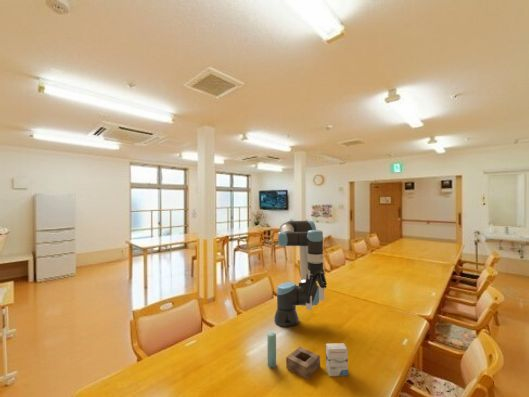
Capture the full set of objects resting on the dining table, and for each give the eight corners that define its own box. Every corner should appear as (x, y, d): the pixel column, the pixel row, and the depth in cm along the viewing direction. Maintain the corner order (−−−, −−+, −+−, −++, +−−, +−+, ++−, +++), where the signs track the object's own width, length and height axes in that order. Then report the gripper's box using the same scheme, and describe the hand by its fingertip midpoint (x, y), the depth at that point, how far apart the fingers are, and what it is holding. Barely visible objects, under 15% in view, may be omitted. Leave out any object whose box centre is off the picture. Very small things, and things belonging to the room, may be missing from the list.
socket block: (286, 368, 116) (286, 357, 116) (299, 356, 124) (299, 346, 124) (307, 379, 108) (307, 367, 108) (320, 366, 117) (319, 355, 117)
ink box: (344, 368, 115) (344, 342, 115) (348, 376, 110) (348, 348, 110) (325, 368, 115) (325, 342, 115) (328, 376, 110) (328, 349, 110)
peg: (265, 365, 118) (265, 334, 118) (271, 360, 121) (271, 331, 121) (272, 368, 115) (272, 337, 115) (277, 364, 118) (277, 334, 118)
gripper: (309, 268, 114) (310, 316, 113) (333, 258, 133) (333, 298, 133) (295, 265, 118) (295, 311, 118) (319, 256, 138) (320, 295, 138)
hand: (315, 304), depth 126 cm, fingers open, 13 cm apart
